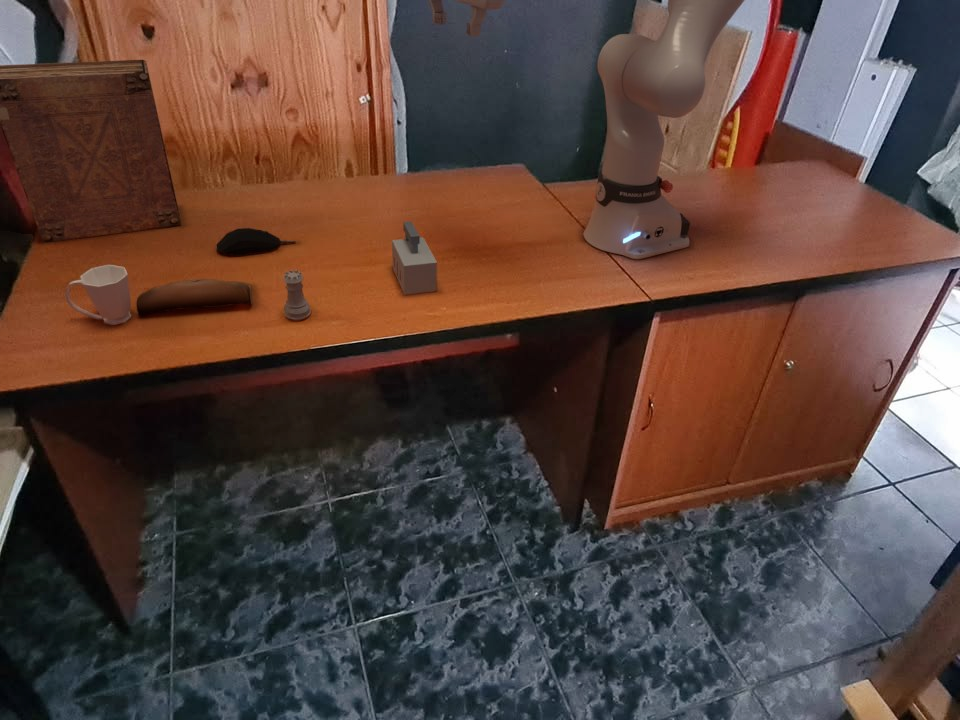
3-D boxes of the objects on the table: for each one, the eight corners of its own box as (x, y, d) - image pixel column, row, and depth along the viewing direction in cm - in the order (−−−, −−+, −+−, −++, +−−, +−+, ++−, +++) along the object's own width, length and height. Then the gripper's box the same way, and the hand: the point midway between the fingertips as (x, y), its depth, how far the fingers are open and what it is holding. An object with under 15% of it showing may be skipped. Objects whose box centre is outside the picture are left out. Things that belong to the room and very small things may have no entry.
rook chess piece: (284, 322, 115) (279, 281, 110) (283, 308, 118) (278, 267, 113) (312, 320, 116) (307, 278, 111) (310, 306, 119) (305, 265, 115)
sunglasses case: (251, 281, 124) (246, 262, 118) (254, 316, 121) (250, 298, 115) (143, 290, 120) (133, 271, 113) (144, 326, 117) (133, 309, 111)
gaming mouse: (297, 250, 135) (295, 231, 133) (218, 258, 131) (214, 239, 128) (293, 236, 140) (291, 217, 137) (216, 243, 135) (213, 225, 133)
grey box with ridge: (436, 291, 126) (437, 244, 120) (404, 295, 124) (403, 248, 118) (423, 264, 133) (423, 220, 127) (392, 268, 131) (390, 223, 126)
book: (41, 242, 132) (-18, 79, 114) (44, 222, 139) (-12, 65, 121) (182, 225, 141) (147, 71, 123) (178, 207, 147) (145, 58, 129)
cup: (135, 328, 111) (122, 285, 106) (68, 331, 110) (52, 288, 105) (144, 305, 117) (132, 263, 112) (80, 307, 115) (65, 265, 110)
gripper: (519, -59, 102) (510, 41, 110) (438, -75, 114) (436, 16, 122) (485, -59, 98) (479, 45, 107) (406, -76, 111) (406, 18, 119)
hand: (455, 29), depth 115 cm, fingers open, 8 cm apart
